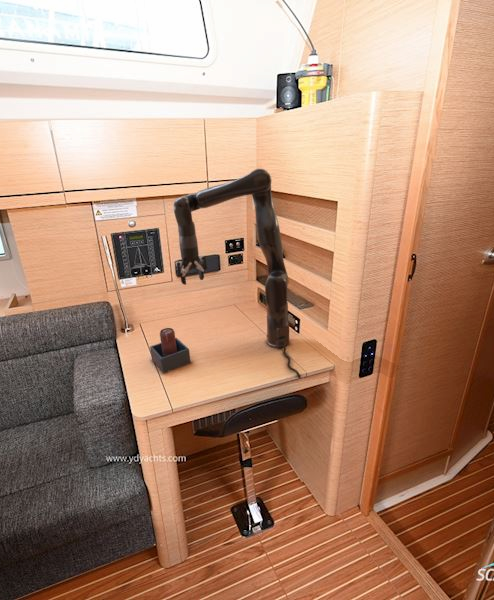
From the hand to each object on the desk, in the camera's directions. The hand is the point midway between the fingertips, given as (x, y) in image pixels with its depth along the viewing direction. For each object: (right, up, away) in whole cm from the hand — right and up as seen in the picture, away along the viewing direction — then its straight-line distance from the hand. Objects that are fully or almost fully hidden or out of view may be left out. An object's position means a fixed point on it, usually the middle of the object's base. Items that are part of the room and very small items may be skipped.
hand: (193, 281), depth 147 cm
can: (-9, -34, -3) cm, 35 cm away
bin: (-9, -34, -3) cm, 36 cm away
